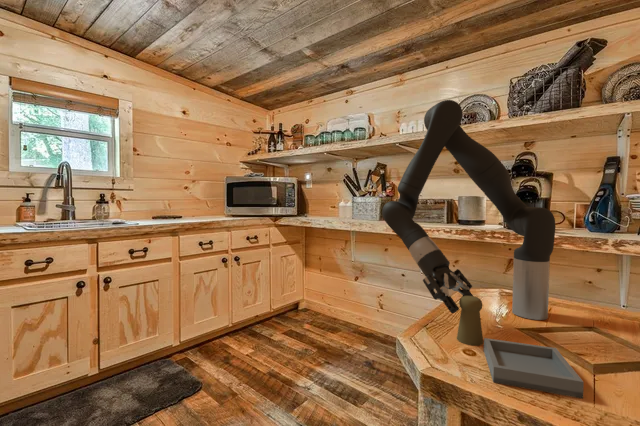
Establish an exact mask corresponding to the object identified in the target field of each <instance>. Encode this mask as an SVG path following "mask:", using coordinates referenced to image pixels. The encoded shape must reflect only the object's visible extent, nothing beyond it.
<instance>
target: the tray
mask: <svg viewBox="0 0 640 426" xmlns="http://www.w3.org/2000/svg"><path fill="white" fill-rule="evenodd" d="M483 353H484V357H485V360H486V363H487V366H488V370H489V373H490V376H491V379H492V382H493V383H495V384H502V385H506V386H513V387H517V388H523V389H529V390H533V391H540V392H543V393H544V392H546V393H550V394H556V395H561V396H565V397H566V396H567V397H572V398H578V399H582V400H583V398H584V387H585V386H584V383H585V382H584V381H583V379H582V378H581V377H580V375H579V374H578V372H576V370H574V368H573V367H572V366H571V365H570V363H569V362H568V361H567V359H565V357H564V356H563V355H562V354H561V352H560V351H559V350H558V348H557V347H551V346H545V345H537V344H530V343H522V342H515V341H508V340H501V339H494V338H488V337H483Z"/></svg>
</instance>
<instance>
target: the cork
mask: <svg viewBox="0 0 640 426" xmlns="http://www.w3.org/2000/svg"><path fill="white" fill-rule="evenodd" d="M482 301H483V300H481V299H480V298H478V296H475V295H473V296H463V295H462V296H461V297H460V298H459V301H458V302H459V308H460V309H461V310H460V315H459V316H460V318H459V322H458V328H457V334H456V340H457V341H458V342H459V343H460V344H463V345H467V346H473V347H474V346H475V347H478V346H483V345H484V337H483V328H482V322H481V321H482V319H481V310H483V302H482Z"/></svg>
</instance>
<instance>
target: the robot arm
mask: <svg viewBox="0 0 640 426" xmlns="http://www.w3.org/2000/svg"><path fill="white" fill-rule="evenodd" d="M463 117H464V116H463V108H462V107H461V105H460V104H459V103H458V102H457V101H456V100H455V101H454V100H453V99H444V100H442V101H439V102H437V103H435V105H433V106H431V107H430V108H429V109H428V110H427V111H426V113H424V118H423V122H424V127H425V129H426V130H427V131H426V133H425V136H424V139H423V140H422V142H421V145H420V146H419V148H418V150H417V151H416V153H415V154H414V156H413V157H412V159H411V161H410V162H409V163H408V165H407V166H406V169H405V171H404V172H403V175H402V177H401V179H400V182H399V183H398V186H397V193H398V194H399V197H398V201H397V200H391V201H390V200H389V201H387V202H386V203H385V204H384V205H383V207H382V211H381V215H382V218H383V220H384V222H385V223H386V224H387V225H388V227H389V228H390V229H391V230H392V231H393V232H394V233H395V234H396V235H397V236H398V237H399V239H400V240H401V241H402V243H403V244H404V245H405V247H406V249H408V252H409V253H410V255H411V257H412V259H413V260H414V262H415V264H416V265H417V266H418V267H419V270H420V271H421V272H422V274H423V276H424V278H423V279H422V282H423V283H424V285H425V287H426V288H427V290H428V292H429V293H430V295H431V296H432V298H433V299H434V300H437V301H438V300H440V301H441V302H443V304H444V305H445V306H446V308H447V309H448V311H449V312H450V314H455V313H457V312H458V311H459V310H460V307H459V306H458V305H457V303H456V302H455V301H454V299H453V297H452V296H451V295H450V293H449V290H452V291H454V292H458V293H459V294H460V295H462V296H474V295H473V293H472V292H471V289H472V288H473V285H472V284H471V282H470V281H469V279H467V277H466V276H465V275H464V274H463V273H462V271H461V270H460V269H459V268H456V270H454V271H453V270H452V269H450V260H449V259H448V258H447V257H446V255H445V254H444V252H442V250H441V248H440V247H439V246H438V245H437V244H436V242H435V241H434V240H433V239H431V237H430V236H429V234H428V233H427V232H426V230H425V229H424V228H423V227H422V226H421V225H420V224H419V223H417V222H416V221H414V218H415V215H416V211H417V208H418V204H419V199H420V195H421V193H422V191H423V189H424V186H425V185H426V183H427V181H428V178H429V176H430V174H431V173H432V170H433V168H434V166H435V165H436V162H437V160H438V158H439V157H440V155H441V153H442V151H443V149H444V148H445V149H446V150H447V151H448V152H449V153H450V154H451V156H452V157H453V158H454V160H456V162H457V163H458V165H460V167H461V168H462V169H463V171H464V172H465V173H466V175H468V177H469V178H470V179H471V180H472V181H473V183H474V184H475V185H476V186H477V187H478V189H480V190H481V191H482V192H483V194H484V195H485V197H487V199H488V200H489V201H490V202H491V203H492V204H493V205H494V206H495V208H496V209H497V210H498V212H499V213H500V215H501V217H503V219H504V220H505V222H506V224H507V225H508V226H509V228H510V229H511V231H512V232H514V233H515V234H516V235H519V236H521V237H523V240H522V241H523V242H522V244H521V246H519V247H515V249H514V250H513V266H512V267H513V273H512V275H513V276H512V303H511V304H512V306H511V313H512V314H513V315H516V316H517V317H520V318H525V319H529V320H536V321H541V320H542V321H543V320H547V319H549V294H550V291H549V290H550V262H551V261H550V260H551V255H552V253H553V251H554V246H555V235H556V218H555V215H554V214H553V212H552V211H551V210H549V209H548V208H545V207H540V206H539V207H538V206H535V207H534V206H529V205H527V204H525V203H524V202H523V201H522V200H521V198H520V197H519V196H518V195H517V194H516V192H515V191H514V189H513V185H512V180H511V179H512V178H511V176H510V173H509V171H508V170H507V168H506V166H505V165H504V164H503V163H502V162H501V160H500V159H499V158H498V157H497V155H495V154H494V152H492V151H491V150H490V149H489V148H488V147H486V146H485V145H483V144H481V143H479V142H477V141H476V140H475V139H473V138H472V137H471V136H470V135H469V134H467V133H466V131H465V130H464V129H463V127H462V126H461V125H460V124H461V123H462V120H463Z"/></svg>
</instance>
